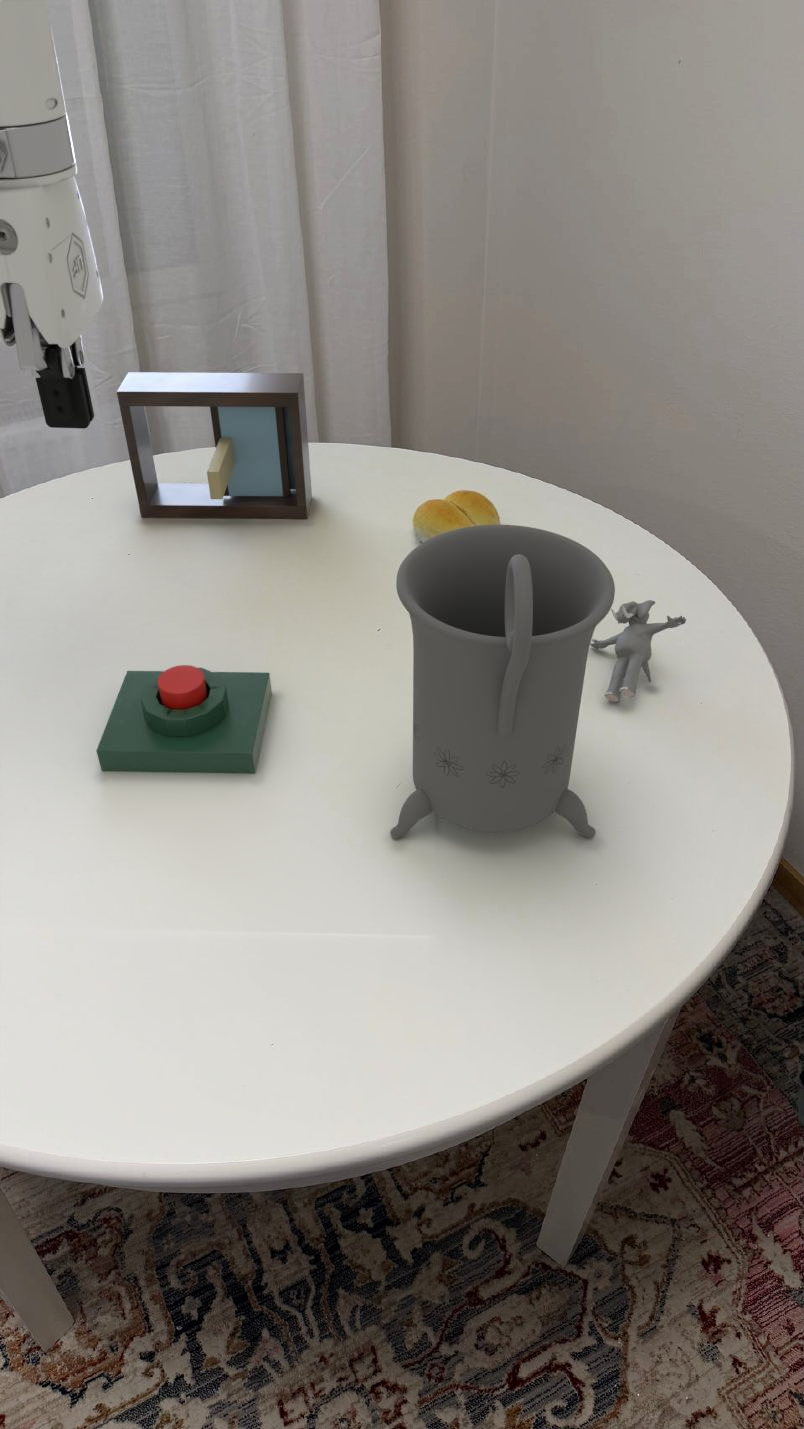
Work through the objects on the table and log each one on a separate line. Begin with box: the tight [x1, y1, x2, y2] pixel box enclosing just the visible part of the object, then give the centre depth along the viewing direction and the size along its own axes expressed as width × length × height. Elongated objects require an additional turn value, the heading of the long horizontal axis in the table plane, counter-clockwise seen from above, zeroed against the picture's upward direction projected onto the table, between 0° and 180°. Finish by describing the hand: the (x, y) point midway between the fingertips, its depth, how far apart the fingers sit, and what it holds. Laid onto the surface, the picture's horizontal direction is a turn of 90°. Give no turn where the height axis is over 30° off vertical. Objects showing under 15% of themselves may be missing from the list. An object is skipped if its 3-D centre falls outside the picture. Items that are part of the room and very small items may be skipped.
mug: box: [389, 524, 616, 840], centre depth 67 cm, size 19×15×25 cm
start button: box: [158, 664, 207, 710], centre depth 79 cm, size 4×4×2 cm
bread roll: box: [412, 489, 502, 543], centre depth 104 cm, size 8×9×4 cm
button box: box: [95, 667, 273, 775], centre depth 80 cm, size 12×10×4 cm
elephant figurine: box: [590, 599, 687, 703], centre depth 85 cm, size 10×6×9 cm
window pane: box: [206, 407, 291, 499], centre depth 102 cm, size 7×8×10 cm
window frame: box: [116, 371, 313, 520], centre depth 105 cm, size 18×5×14 cm, turn 88°
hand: (71, 423), depth 76 cm, fingers closed
